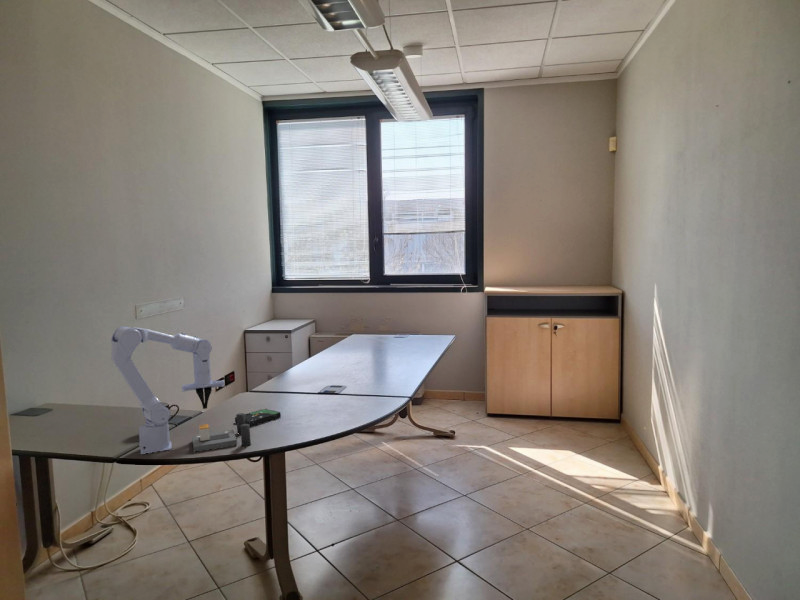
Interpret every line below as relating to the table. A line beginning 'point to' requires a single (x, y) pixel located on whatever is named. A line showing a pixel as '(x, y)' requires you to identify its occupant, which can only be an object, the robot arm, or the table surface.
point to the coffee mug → (169, 408)
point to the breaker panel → (215, 440)
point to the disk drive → (260, 417)
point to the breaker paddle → (204, 432)
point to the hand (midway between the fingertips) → (204, 408)
